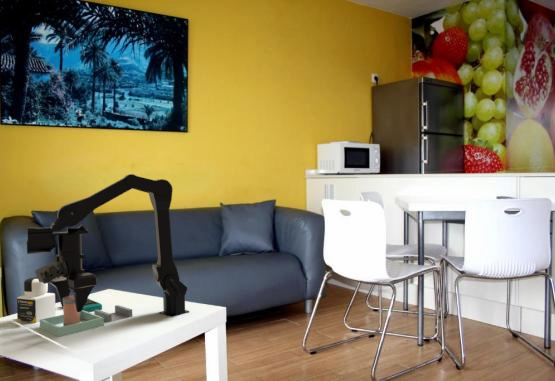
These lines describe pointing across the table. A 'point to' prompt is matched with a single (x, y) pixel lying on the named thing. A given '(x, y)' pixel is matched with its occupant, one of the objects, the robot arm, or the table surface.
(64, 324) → the fuse
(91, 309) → the digital multimeter
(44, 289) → the medicine bottle
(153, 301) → the table surface
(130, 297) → the table surface
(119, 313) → the grey cradle stand
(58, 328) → the tray
